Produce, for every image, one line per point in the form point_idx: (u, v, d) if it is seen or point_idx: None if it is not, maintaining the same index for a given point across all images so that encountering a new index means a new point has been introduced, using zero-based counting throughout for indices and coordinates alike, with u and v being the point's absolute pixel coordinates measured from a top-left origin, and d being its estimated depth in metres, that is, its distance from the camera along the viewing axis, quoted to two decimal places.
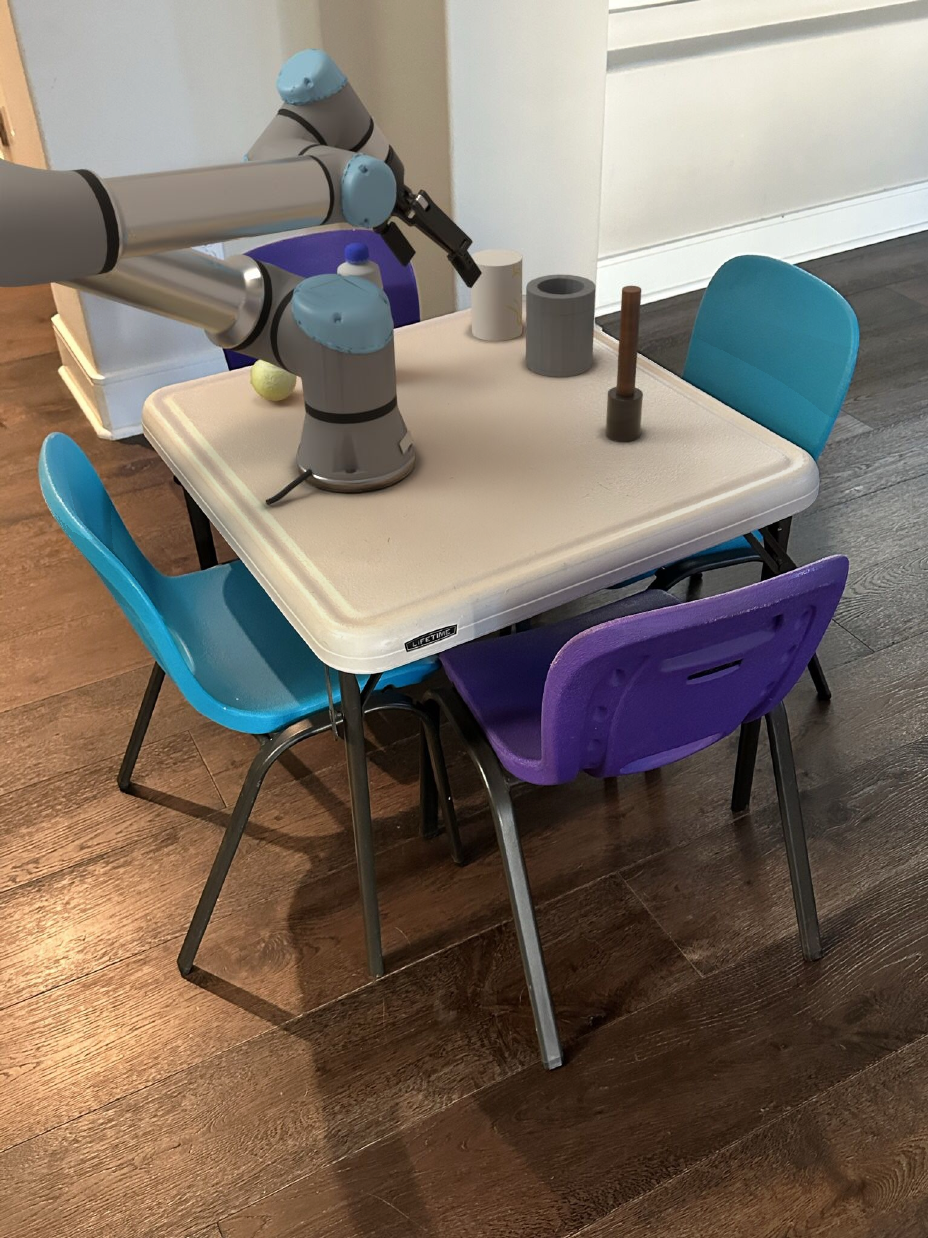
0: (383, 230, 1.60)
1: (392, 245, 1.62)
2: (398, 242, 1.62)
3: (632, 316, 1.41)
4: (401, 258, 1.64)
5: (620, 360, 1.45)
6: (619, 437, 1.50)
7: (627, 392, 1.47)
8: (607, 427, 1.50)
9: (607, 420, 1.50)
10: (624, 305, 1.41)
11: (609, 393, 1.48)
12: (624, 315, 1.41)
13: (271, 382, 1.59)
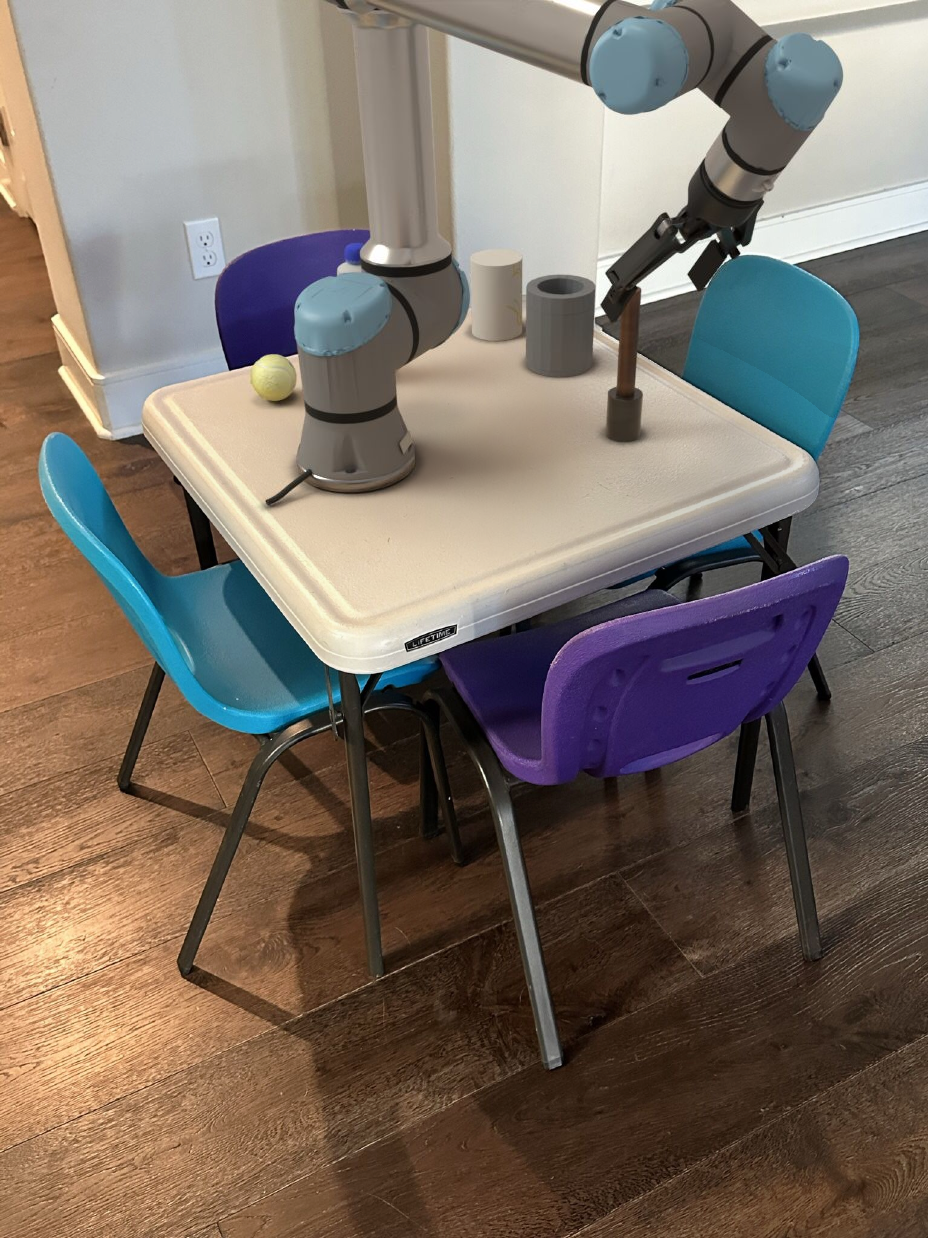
0: (719, 243, 1.34)
1: (703, 253, 1.36)
2: (705, 263, 1.36)
3: (632, 316, 1.41)
4: (693, 267, 1.38)
5: (620, 360, 1.45)
6: (619, 437, 1.50)
7: (627, 392, 1.47)
8: (607, 427, 1.50)
9: (607, 420, 1.50)
10: None
11: (609, 393, 1.48)
12: (624, 315, 1.41)
13: (271, 382, 1.59)
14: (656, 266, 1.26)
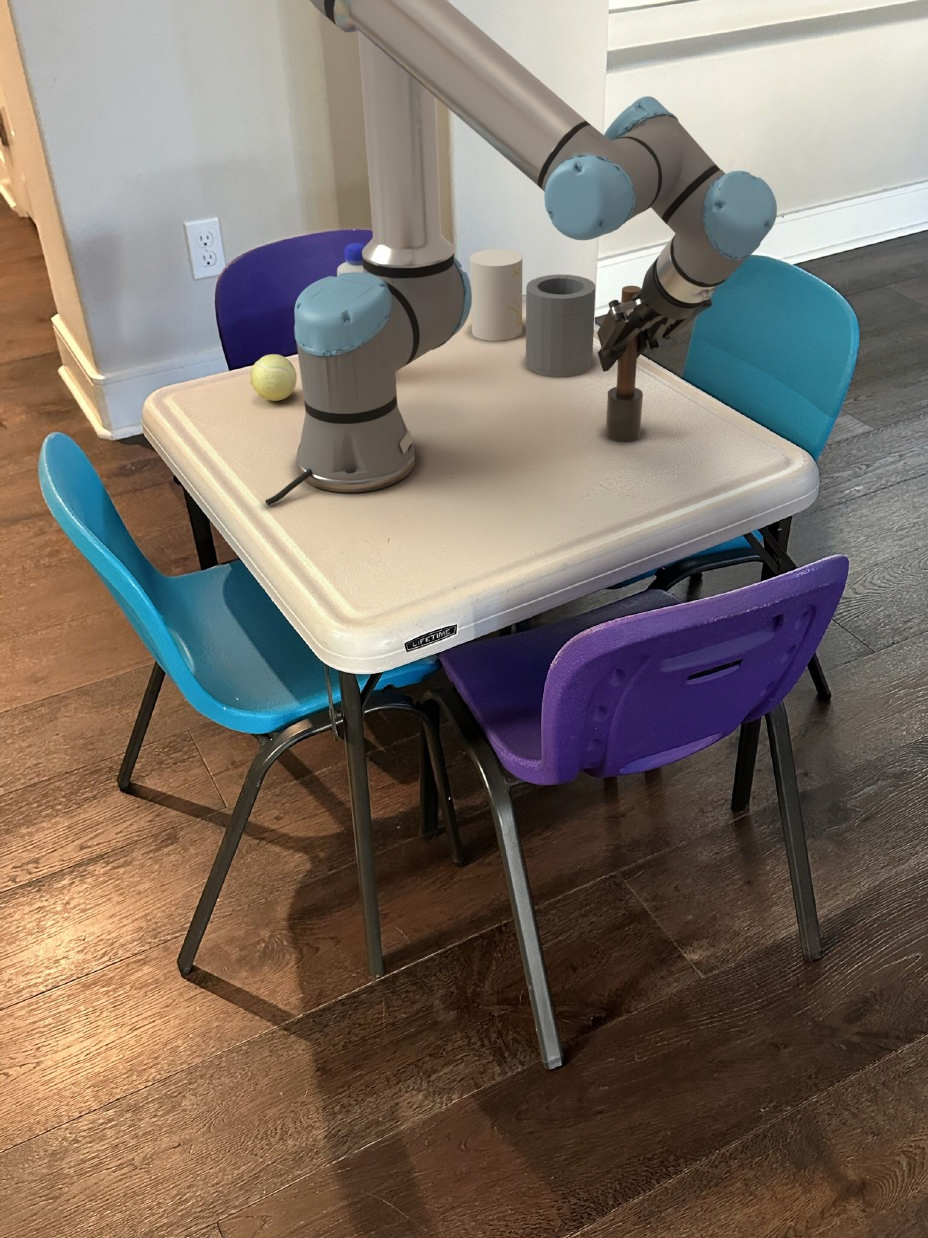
0: (643, 332, 1.44)
1: None
2: None
3: None
4: None
5: (620, 360, 1.45)
6: (619, 437, 1.50)
7: (627, 392, 1.47)
8: (607, 427, 1.50)
9: (607, 420, 1.50)
10: None
11: (609, 393, 1.48)
12: None
13: (271, 382, 1.59)
14: (631, 336, 1.39)
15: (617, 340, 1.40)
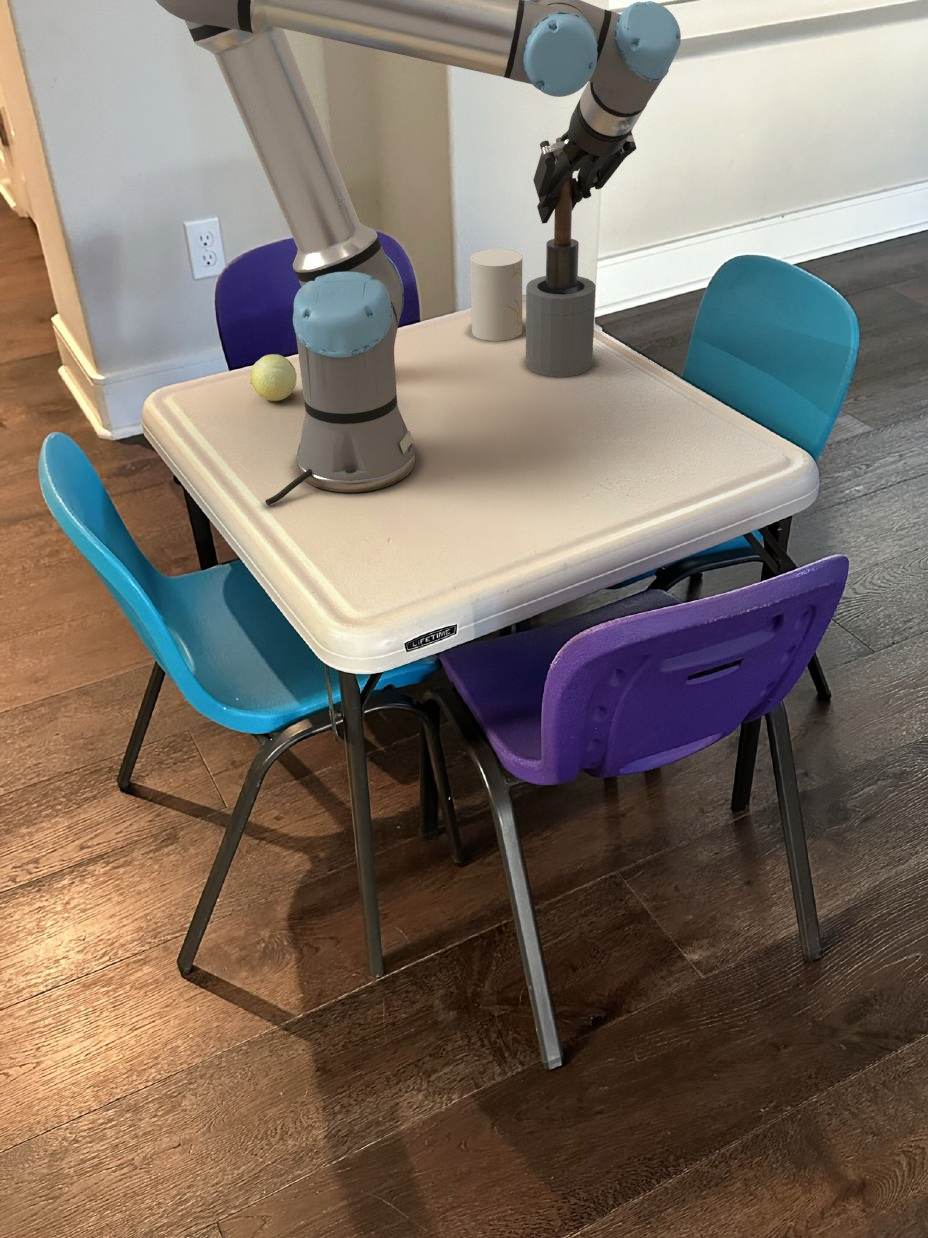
0: (577, 182, 1.56)
1: None
2: None
3: None
4: None
5: (556, 209, 1.57)
6: (557, 285, 1.62)
7: (563, 240, 1.59)
8: (547, 276, 1.63)
9: (546, 269, 1.62)
10: None
11: (547, 243, 1.61)
12: None
13: (271, 382, 1.59)
14: (563, 180, 1.51)
15: (551, 186, 1.53)
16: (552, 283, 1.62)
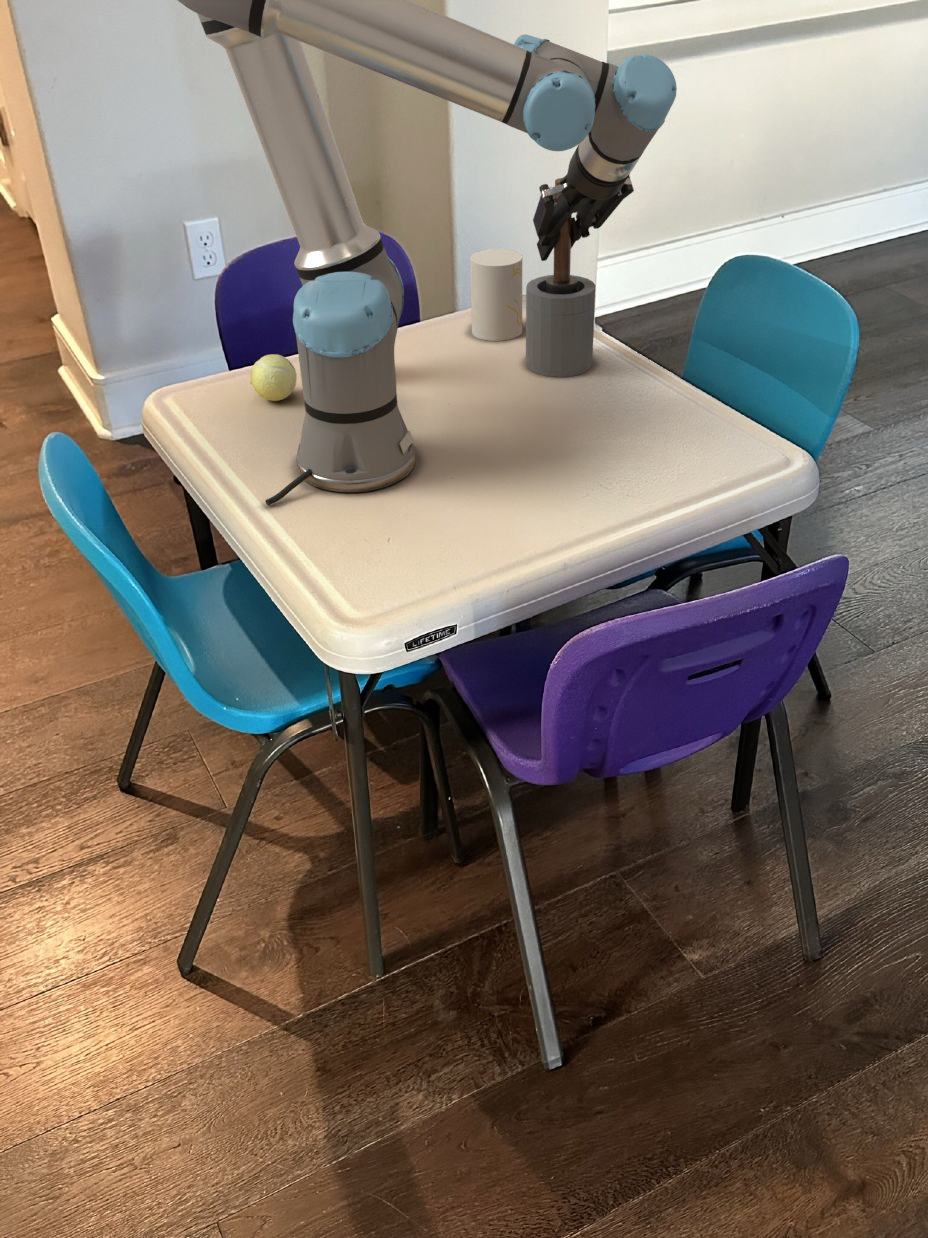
0: (575, 221, 1.59)
1: None
2: None
3: None
4: None
5: (555, 248, 1.60)
6: None
7: (563, 278, 1.62)
8: None
9: None
10: None
11: (547, 280, 1.64)
12: None
13: (271, 382, 1.59)
14: (562, 221, 1.54)
15: (551, 226, 1.56)
16: None
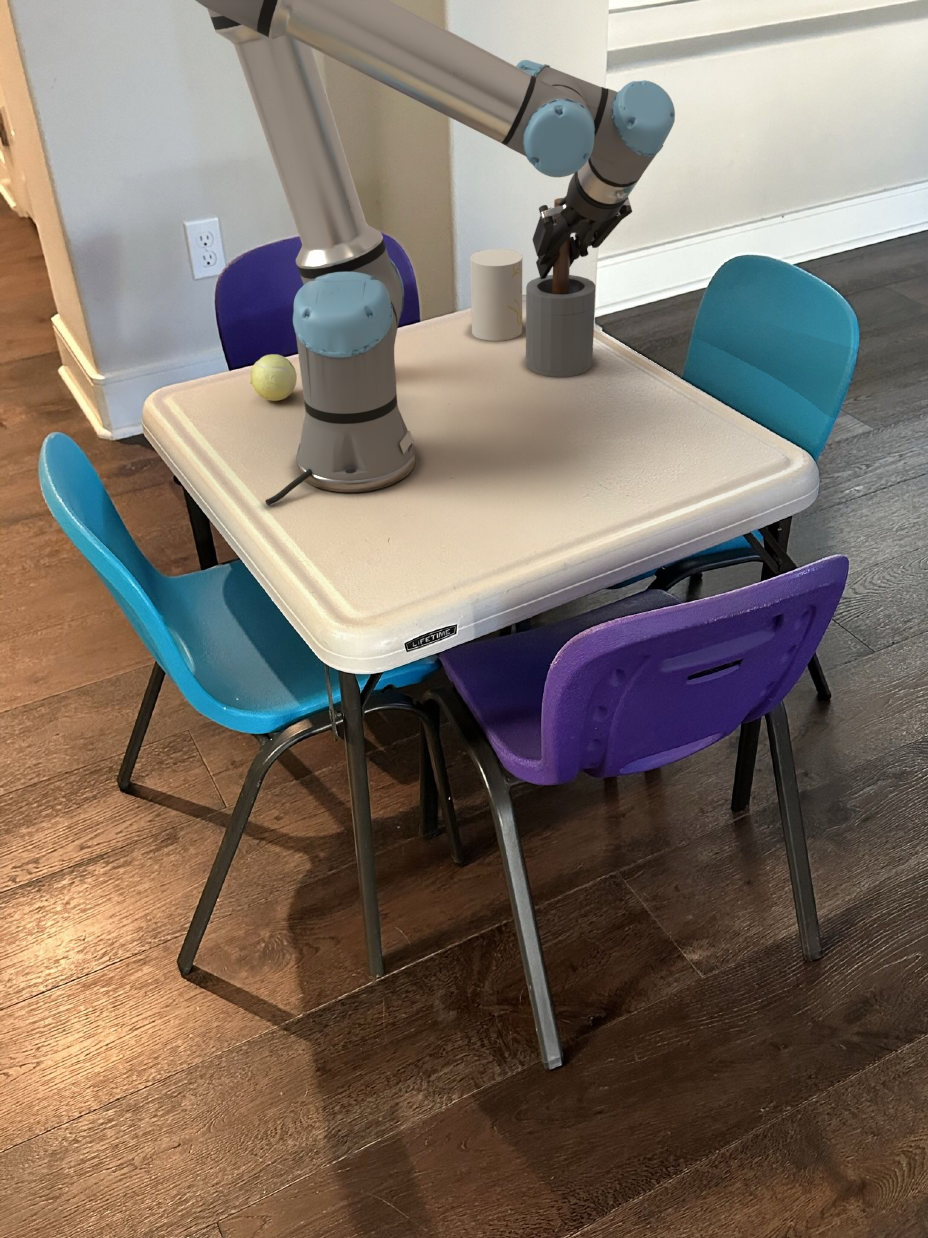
0: (574, 241, 1.61)
1: None
2: None
3: None
4: None
5: (554, 266, 1.62)
6: None
7: None
8: None
9: None
10: None
11: None
12: None
13: (271, 382, 1.59)
14: (561, 241, 1.56)
15: (550, 246, 1.58)
16: None
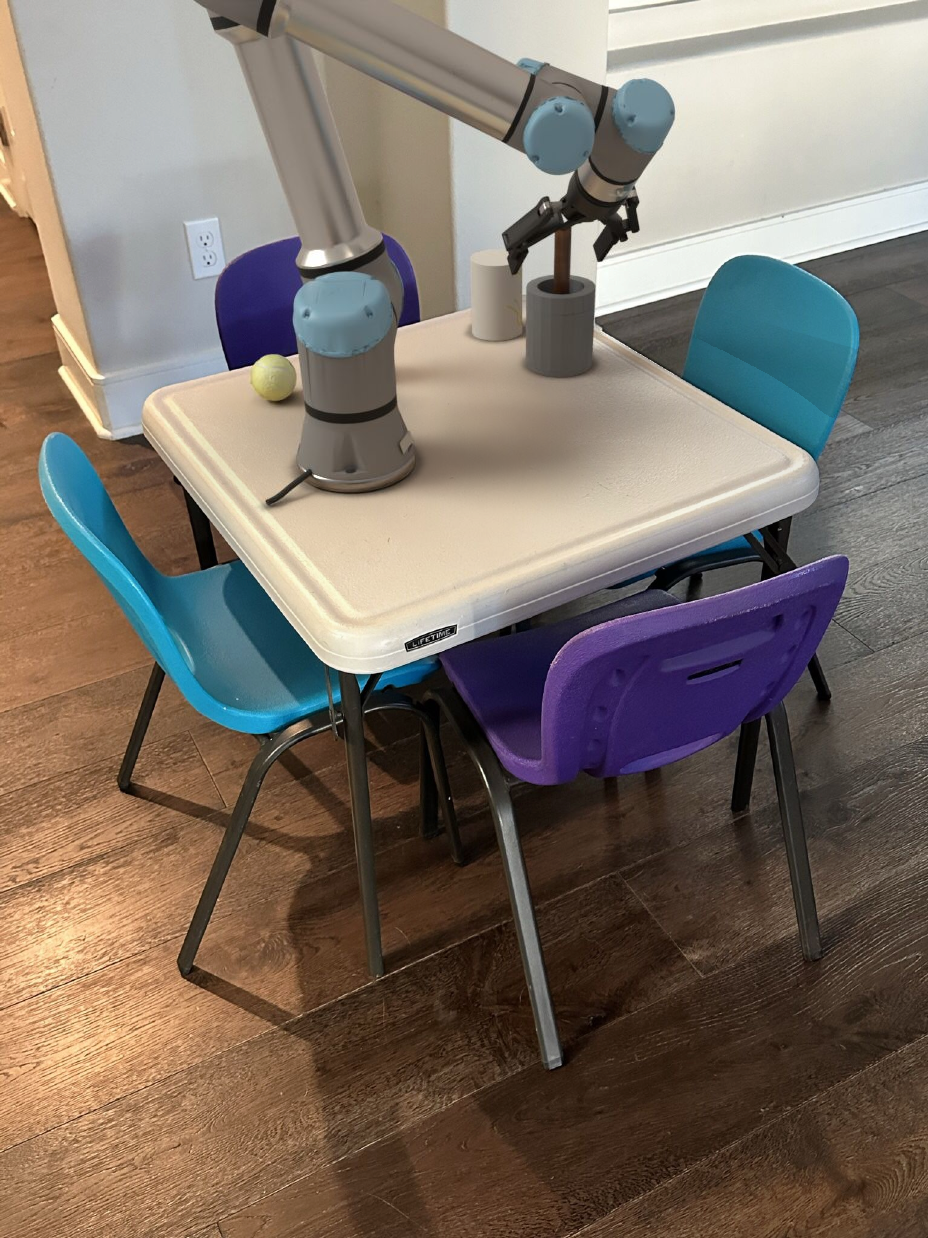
0: None
1: (603, 231, 1.62)
2: (603, 240, 1.62)
3: (564, 250, 1.60)
4: (596, 241, 1.65)
5: (555, 290, 1.64)
6: None
7: None
8: None
9: None
10: (556, 239, 1.60)
11: None
12: (557, 248, 1.60)
13: (271, 382, 1.59)
14: (542, 237, 1.53)
15: (525, 240, 1.54)
16: None
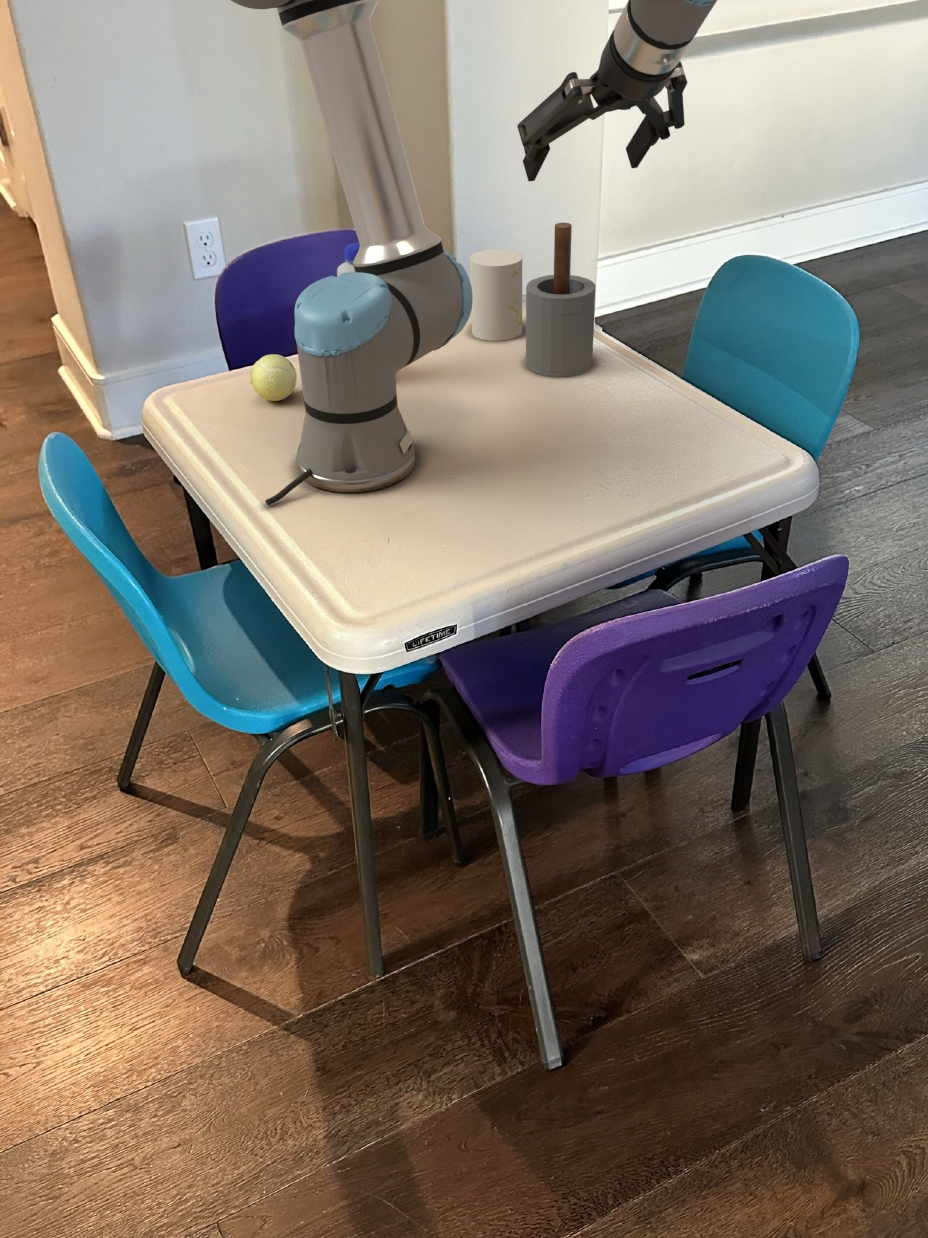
0: None
1: (639, 128, 1.34)
2: (639, 139, 1.34)
3: (564, 250, 1.60)
4: (630, 142, 1.36)
5: (555, 290, 1.64)
6: None
7: None
8: None
9: None
10: (556, 239, 1.60)
11: None
12: (557, 248, 1.60)
13: (271, 382, 1.59)
14: (567, 128, 1.25)
15: (546, 133, 1.26)
16: None
